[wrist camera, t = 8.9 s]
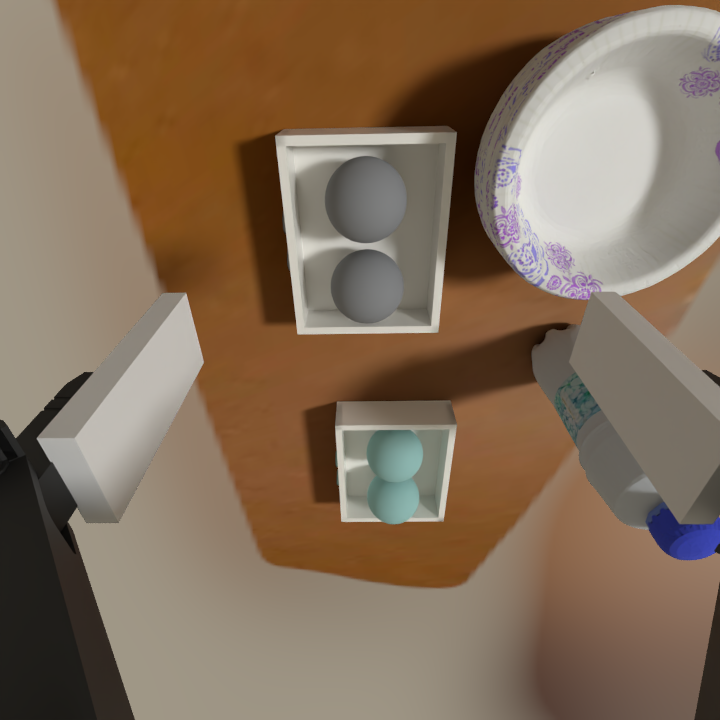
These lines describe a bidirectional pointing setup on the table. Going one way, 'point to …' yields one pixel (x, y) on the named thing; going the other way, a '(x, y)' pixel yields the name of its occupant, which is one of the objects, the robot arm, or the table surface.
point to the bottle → (612, 455)
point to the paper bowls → (608, 154)
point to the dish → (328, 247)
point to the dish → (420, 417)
